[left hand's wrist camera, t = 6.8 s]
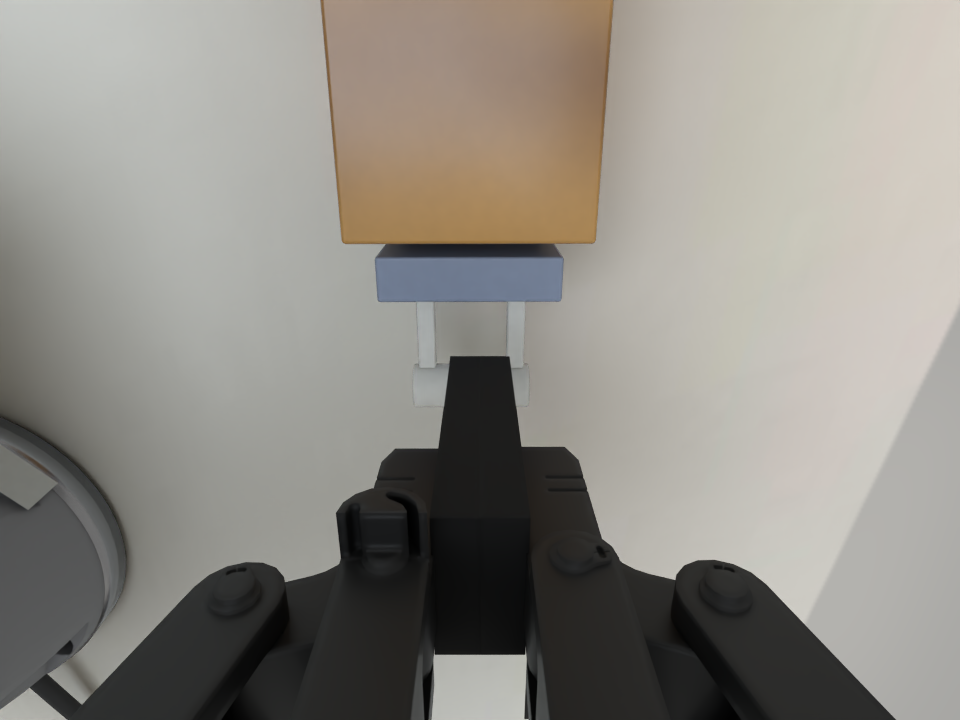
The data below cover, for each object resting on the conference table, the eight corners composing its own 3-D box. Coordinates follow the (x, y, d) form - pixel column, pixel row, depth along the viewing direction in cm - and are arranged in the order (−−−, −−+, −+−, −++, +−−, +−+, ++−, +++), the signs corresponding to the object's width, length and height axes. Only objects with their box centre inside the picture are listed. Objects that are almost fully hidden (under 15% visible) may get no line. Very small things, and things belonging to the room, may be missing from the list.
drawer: (528, 366, 25) (552, 470, 17) (414, 366, 25) (388, 471, 17) (555, -420, 16) (628, -903, 8) (379, -421, 16) (294, -909, 8)
